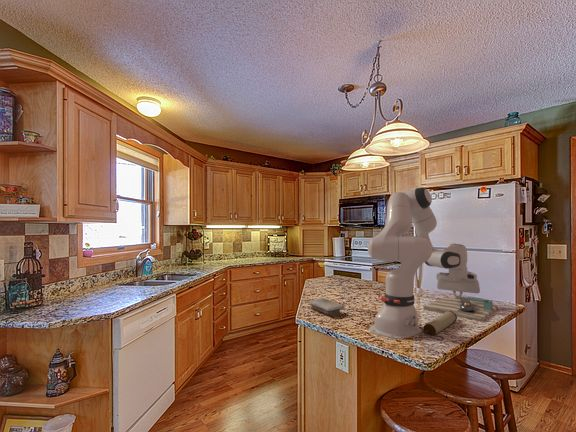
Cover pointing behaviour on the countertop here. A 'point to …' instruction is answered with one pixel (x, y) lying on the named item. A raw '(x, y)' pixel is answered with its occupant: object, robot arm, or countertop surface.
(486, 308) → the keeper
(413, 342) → the countertop surface
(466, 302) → the lever
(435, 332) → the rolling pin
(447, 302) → the board
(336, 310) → the packaged product
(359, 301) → the countertop surface
